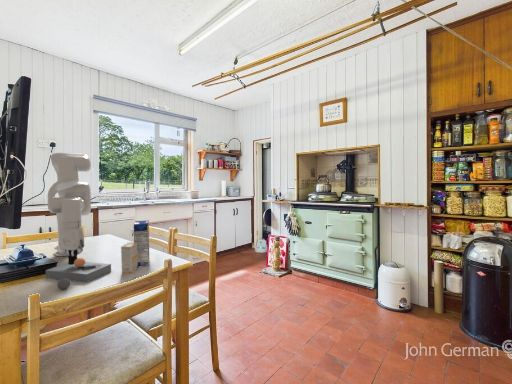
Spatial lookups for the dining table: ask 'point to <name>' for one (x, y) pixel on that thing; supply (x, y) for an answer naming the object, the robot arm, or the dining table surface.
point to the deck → (79, 271)
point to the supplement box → (129, 257)
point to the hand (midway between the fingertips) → (72, 263)
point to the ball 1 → (63, 283)
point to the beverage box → (142, 242)
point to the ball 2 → (79, 262)
